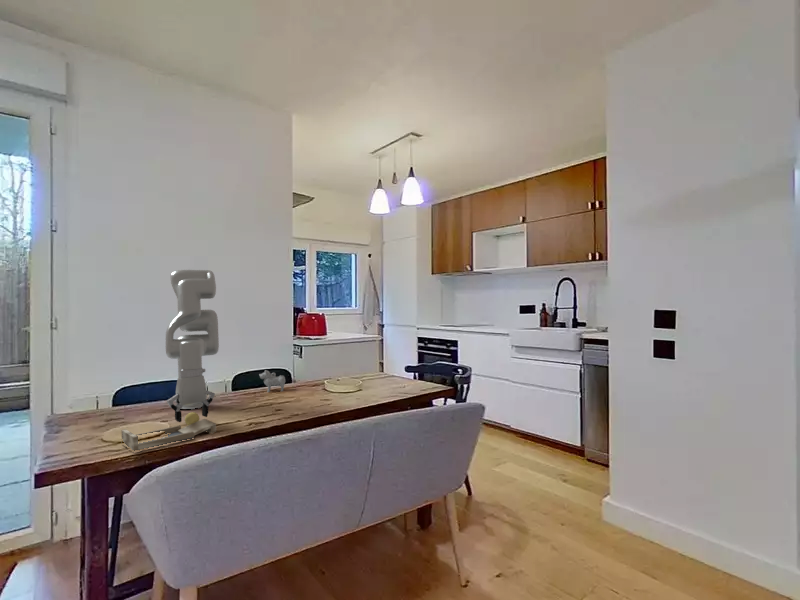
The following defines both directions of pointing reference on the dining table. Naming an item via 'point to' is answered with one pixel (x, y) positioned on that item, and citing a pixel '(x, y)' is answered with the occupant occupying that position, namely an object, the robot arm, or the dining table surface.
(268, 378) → the grey dog figurine
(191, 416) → the ball
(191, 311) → the robot arm
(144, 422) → the dining table surface
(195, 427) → the ramp
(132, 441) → the grey tray
